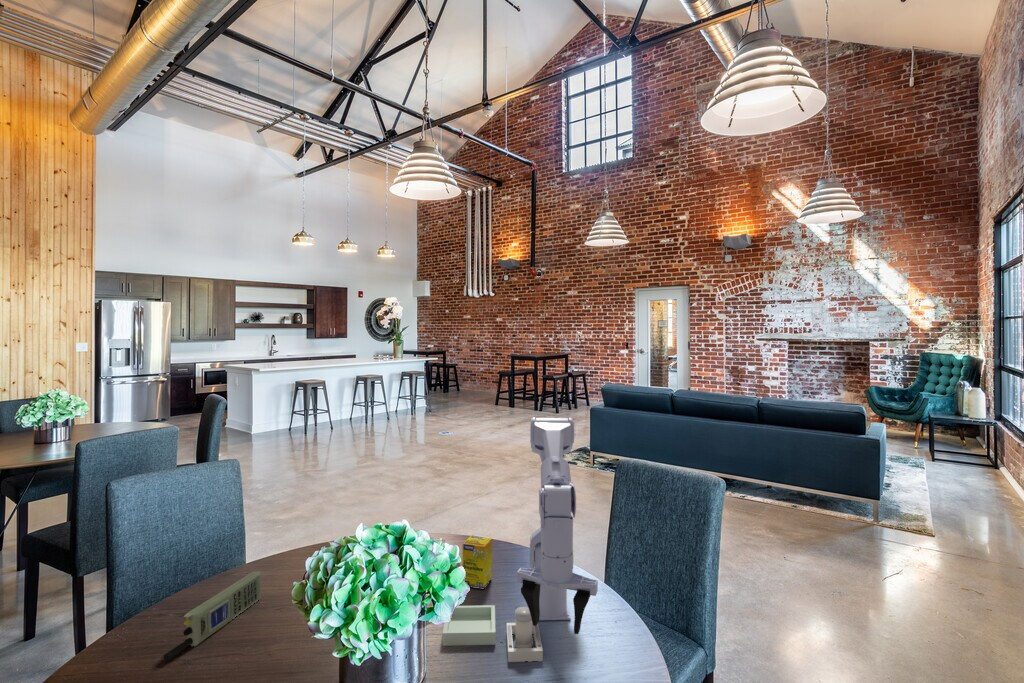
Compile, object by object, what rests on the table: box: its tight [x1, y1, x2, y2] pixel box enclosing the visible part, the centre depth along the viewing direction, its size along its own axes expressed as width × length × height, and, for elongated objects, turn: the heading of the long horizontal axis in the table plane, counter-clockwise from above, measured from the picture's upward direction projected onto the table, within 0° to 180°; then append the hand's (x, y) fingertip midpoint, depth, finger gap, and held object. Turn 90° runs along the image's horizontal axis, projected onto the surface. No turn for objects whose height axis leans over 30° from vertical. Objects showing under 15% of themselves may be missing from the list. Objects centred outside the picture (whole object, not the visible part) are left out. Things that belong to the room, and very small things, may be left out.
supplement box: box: [461, 535, 493, 589], centre depth 129 cm, size 6×6×11 cm
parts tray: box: [442, 604, 496, 647], centre depth 107 cm, size 11×11×2 cm
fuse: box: [514, 606, 534, 648], centre depth 102 cm, size 4×4×7 cm
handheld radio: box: [162, 571, 262, 662], centre depth 108 cm, size 7×3×25 cm
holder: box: [506, 622, 544, 663], centre depth 102 cm, size 10×7×2 cm, turn 3°
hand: (556, 626), depth 92 cm, fingers open, 7 cm apart
